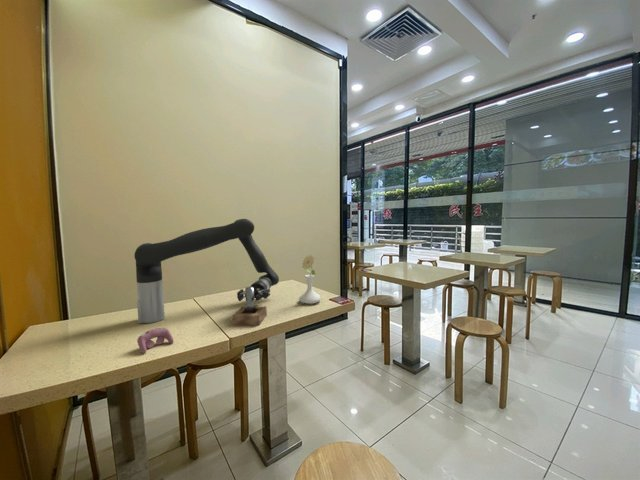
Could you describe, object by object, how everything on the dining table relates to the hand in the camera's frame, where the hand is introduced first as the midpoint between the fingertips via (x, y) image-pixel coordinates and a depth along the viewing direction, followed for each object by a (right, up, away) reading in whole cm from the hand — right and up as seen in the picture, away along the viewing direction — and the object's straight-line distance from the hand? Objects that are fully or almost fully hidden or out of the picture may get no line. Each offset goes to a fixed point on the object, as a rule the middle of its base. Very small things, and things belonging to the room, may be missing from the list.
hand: (247, 298), depth 108 cm
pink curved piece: (-26, -12, -19) cm, 35 cm away
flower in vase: (+25, -8, +25) cm, 36 cm away
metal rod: (0, -10, +3) cm, 10 cm away
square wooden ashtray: (0, -10, +3) cm, 10 cm away
